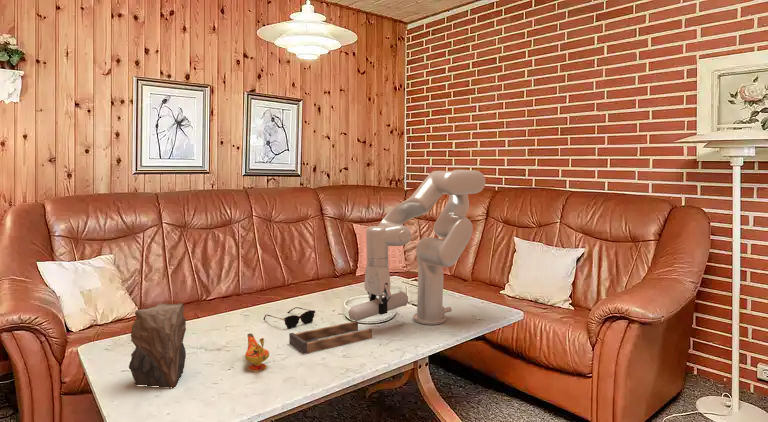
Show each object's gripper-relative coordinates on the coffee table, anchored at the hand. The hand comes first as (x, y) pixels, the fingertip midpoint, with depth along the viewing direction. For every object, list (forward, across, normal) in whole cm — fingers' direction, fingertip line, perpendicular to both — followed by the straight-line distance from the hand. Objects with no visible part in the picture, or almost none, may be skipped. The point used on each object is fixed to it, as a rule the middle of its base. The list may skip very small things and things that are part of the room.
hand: (378, 311), depth 179 cm
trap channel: (+6, 0, -19) cm, 20 cm away
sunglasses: (+7, -27, -23) cm, 36 cm away
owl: (+4, +1, -72) cm, 72 cm away
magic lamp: (+5, +5, -47) cm, 48 cm away
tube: (+1, 0, 0) cm, 1 cm away
